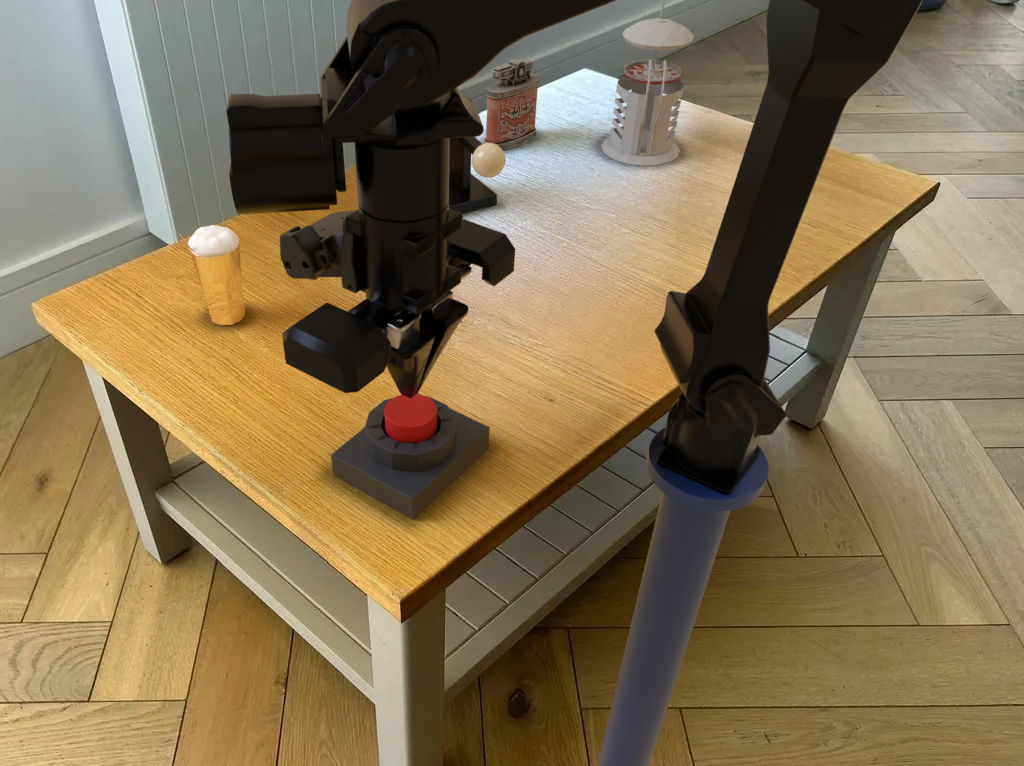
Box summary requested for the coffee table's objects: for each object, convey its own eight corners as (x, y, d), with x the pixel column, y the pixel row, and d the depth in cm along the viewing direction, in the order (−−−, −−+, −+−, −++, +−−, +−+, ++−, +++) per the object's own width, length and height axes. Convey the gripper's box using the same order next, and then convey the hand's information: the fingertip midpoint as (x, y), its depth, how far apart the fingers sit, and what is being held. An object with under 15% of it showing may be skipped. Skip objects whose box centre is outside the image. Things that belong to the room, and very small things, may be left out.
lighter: (523, 128, 118) (528, 49, 112) (541, 136, 117) (547, 57, 110) (478, 145, 115) (480, 65, 108) (496, 154, 113) (499, 73, 106)
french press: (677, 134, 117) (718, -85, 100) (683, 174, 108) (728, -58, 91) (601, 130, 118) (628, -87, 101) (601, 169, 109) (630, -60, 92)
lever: (509, 179, 92) (513, 149, 90) (480, 187, 91) (483, 156, 89) (448, 120, 100) (450, 91, 97) (421, 126, 99) (423, 97, 96)
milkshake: (188, 318, 87) (166, 224, 80) (235, 298, 89) (219, 205, 82) (211, 338, 84) (191, 243, 77) (260, 317, 87) (245, 223, 80)
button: (447, 423, 69) (447, 406, 68) (415, 451, 67) (415, 434, 66) (406, 403, 71) (406, 386, 70) (374, 430, 69) (373, 413, 68)
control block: (489, 447, 73) (490, 409, 70) (413, 520, 67) (411, 481, 64) (411, 409, 76) (410, 372, 74) (332, 475, 70) (328, 437, 68)
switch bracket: (497, 204, 103) (501, 102, 95) (419, 225, 100) (417, 120, 92) (462, 177, 108) (464, 77, 100) (388, 195, 105) (384, 94, 97)
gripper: (396, 121, 65) (402, 302, 76) (204, 221, 55) (242, 417, 65) (525, 160, 60) (512, 349, 71) (342, 280, 50) (358, 481, 60)
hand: (408, 394), depth 67 cm, fingers closed
